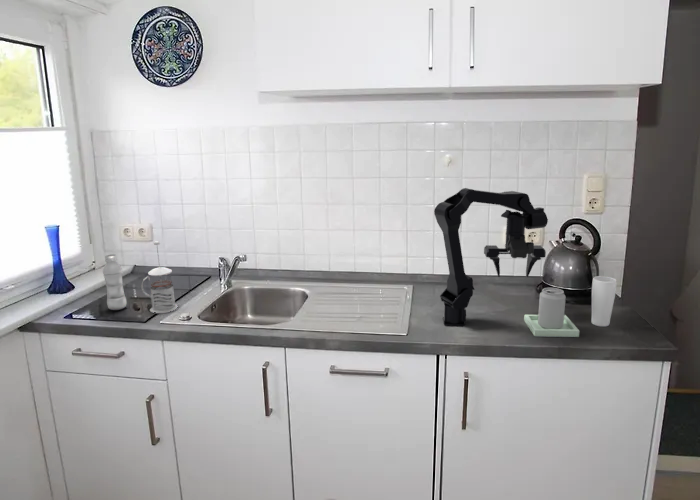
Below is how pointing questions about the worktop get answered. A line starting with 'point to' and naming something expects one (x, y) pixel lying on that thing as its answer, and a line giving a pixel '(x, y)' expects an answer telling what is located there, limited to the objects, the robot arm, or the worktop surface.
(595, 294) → the drinking glass
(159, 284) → the french press
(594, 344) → the worktop surface
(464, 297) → the robot arm
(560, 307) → the can
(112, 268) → the plastic bottle
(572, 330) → the tray
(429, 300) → the worktop surface
